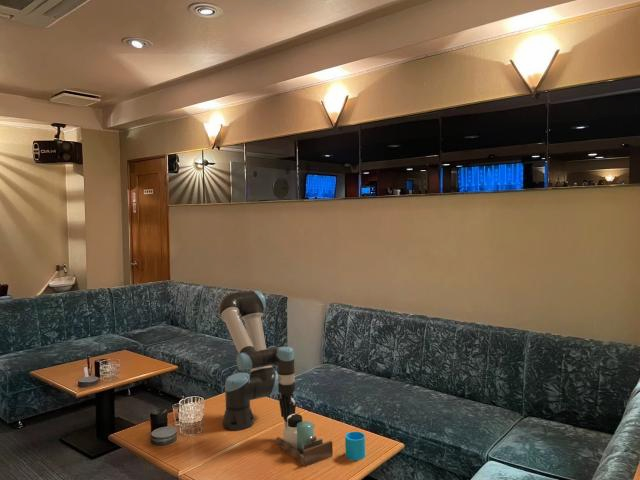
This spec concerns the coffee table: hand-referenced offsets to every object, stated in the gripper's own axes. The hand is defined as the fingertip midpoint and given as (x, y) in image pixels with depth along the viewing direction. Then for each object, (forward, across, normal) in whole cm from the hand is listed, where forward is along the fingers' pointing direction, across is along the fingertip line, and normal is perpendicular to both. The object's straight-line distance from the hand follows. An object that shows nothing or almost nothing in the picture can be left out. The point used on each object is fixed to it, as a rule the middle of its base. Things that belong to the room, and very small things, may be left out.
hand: (288, 434), depth 205 cm
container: (+2, +8, -1) cm, 8 cm away
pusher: (+2, +20, 0) cm, 20 cm away
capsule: (+2, +16, -1) cm, 16 cm away
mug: (+2, +29, +16) cm, 33 cm away
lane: (+2, +13, 0) cm, 13 cm away
